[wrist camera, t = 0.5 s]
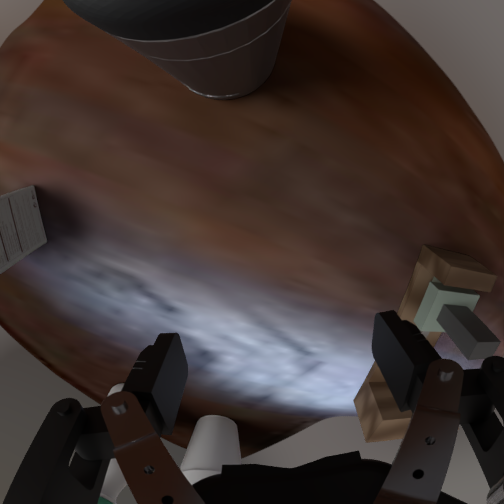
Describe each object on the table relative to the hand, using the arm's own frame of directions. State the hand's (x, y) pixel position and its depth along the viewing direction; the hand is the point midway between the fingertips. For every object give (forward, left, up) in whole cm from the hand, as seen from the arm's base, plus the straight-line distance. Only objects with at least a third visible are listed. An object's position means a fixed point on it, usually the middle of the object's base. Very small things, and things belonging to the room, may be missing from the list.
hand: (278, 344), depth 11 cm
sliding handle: (+5, +22, -17) cm, 28 cm away
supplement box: (+4, -29, -18) cm, 35 cm away
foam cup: (+33, -1, -18) cm, 38 cm away
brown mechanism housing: (+12, +25, -18) cm, 33 cm away
